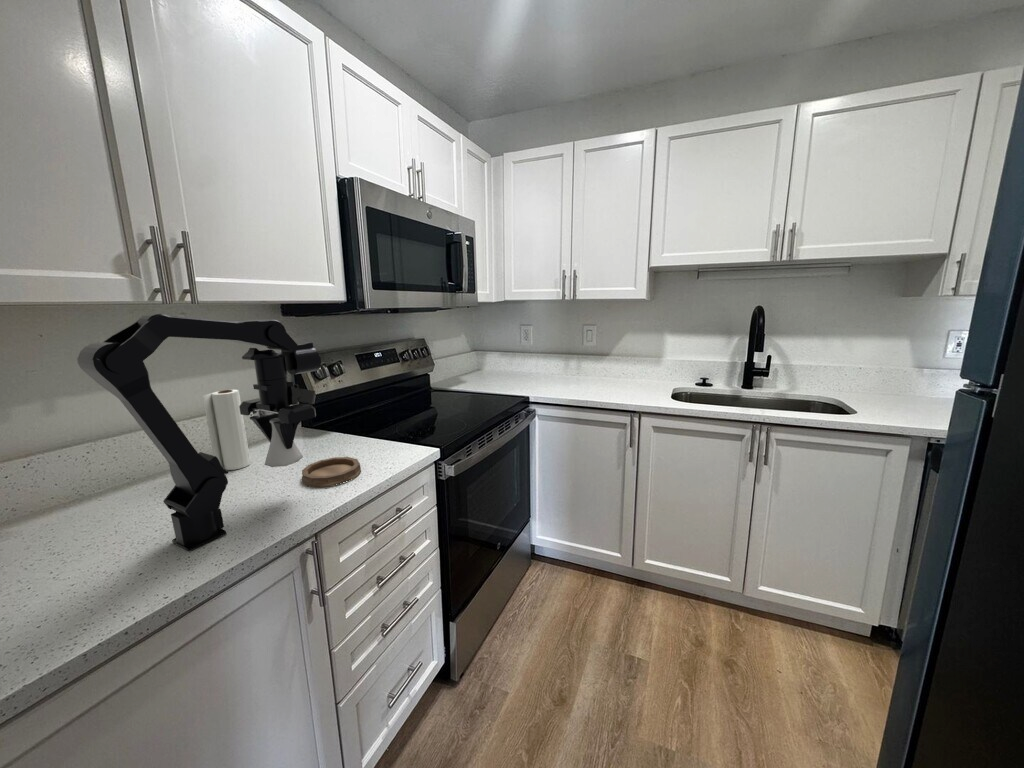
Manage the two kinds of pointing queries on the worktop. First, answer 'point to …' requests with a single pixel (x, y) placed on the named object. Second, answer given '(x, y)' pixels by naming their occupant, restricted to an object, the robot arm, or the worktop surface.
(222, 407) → the paper towel roll
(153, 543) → the worktop surface
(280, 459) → the flask
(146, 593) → the worktop surface
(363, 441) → the worktop surface
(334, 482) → the walnut collar
